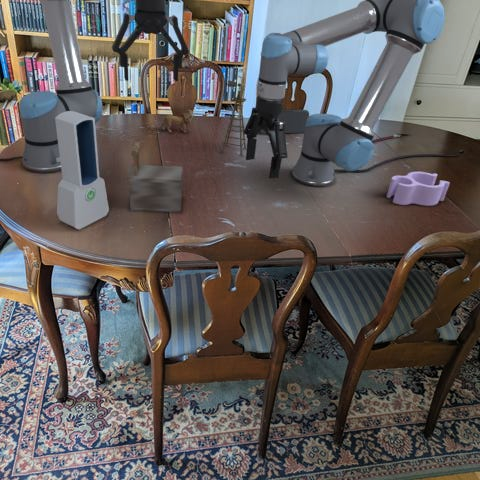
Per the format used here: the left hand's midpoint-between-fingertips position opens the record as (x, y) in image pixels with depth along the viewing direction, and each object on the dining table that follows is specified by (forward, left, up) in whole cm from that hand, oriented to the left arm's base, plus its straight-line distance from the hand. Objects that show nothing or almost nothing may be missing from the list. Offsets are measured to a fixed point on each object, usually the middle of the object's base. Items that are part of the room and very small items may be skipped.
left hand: (151, 79), depth 129 cm
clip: (+87, +24, -36) cm, 97 cm away
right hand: (+33, 0, -22) cm, 40 cm away
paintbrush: (+87, +83, -36) cm, 125 cm away
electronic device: (-14, -20, -36) cm, 43 cm away
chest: (+3, -6, -36) cm, 36 cm away
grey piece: (+3, -6, -26) cm, 27 cm away
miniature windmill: (+20, +45, -36) cm, 61 cm away
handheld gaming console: (+38, +73, -36) cm, 89 cm away
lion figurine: (-6, +58, -36) cm, 68 cm away
